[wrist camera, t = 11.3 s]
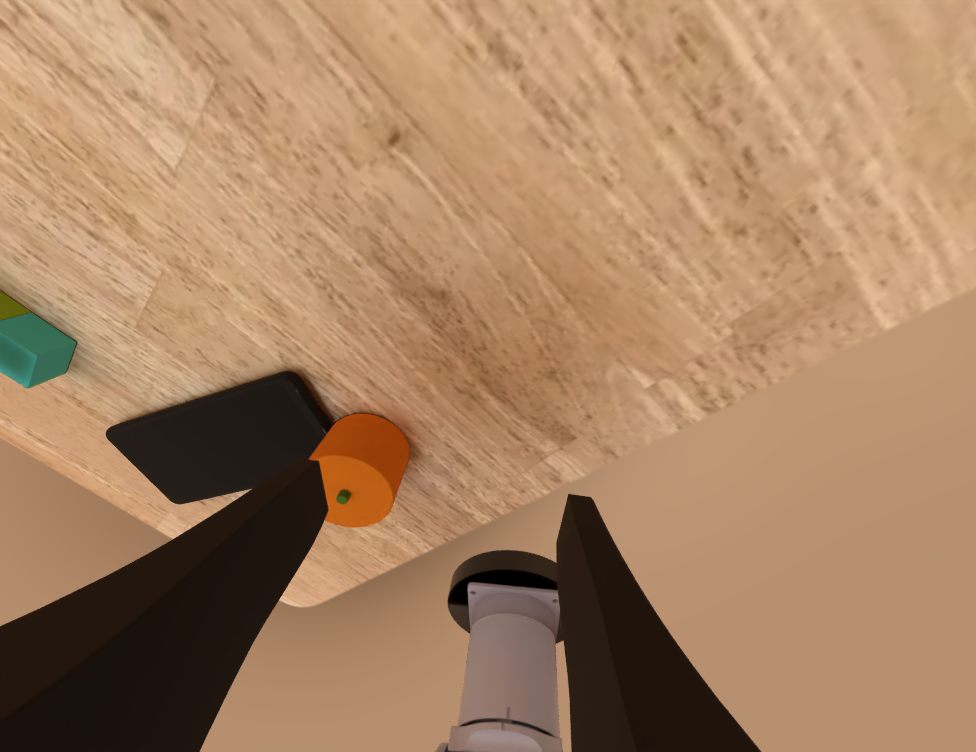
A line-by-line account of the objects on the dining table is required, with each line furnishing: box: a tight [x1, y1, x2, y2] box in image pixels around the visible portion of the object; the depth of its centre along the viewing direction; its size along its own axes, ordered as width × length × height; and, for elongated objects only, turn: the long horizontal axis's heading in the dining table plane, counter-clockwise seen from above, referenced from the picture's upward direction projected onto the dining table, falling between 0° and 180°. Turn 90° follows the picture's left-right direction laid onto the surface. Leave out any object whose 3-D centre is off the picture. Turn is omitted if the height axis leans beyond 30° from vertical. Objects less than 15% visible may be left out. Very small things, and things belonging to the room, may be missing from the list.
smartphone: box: [106, 371, 332, 504], centre depth 23 cm, size 7×1×15 cm
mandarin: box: [309, 414, 410, 527], centre depth 20 cm, size 5×5×4 cm
